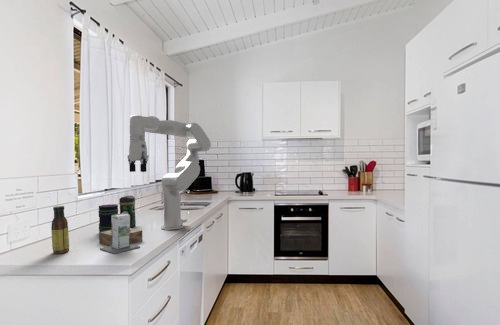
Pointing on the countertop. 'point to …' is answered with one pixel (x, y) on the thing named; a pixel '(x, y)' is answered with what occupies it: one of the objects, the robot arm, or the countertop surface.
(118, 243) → the syrup box
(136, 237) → the pocket block
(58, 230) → the sauce bottle
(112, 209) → the storage jar
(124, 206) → the coffee jar
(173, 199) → the robot arm
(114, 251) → the mat
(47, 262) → the countertop surface
